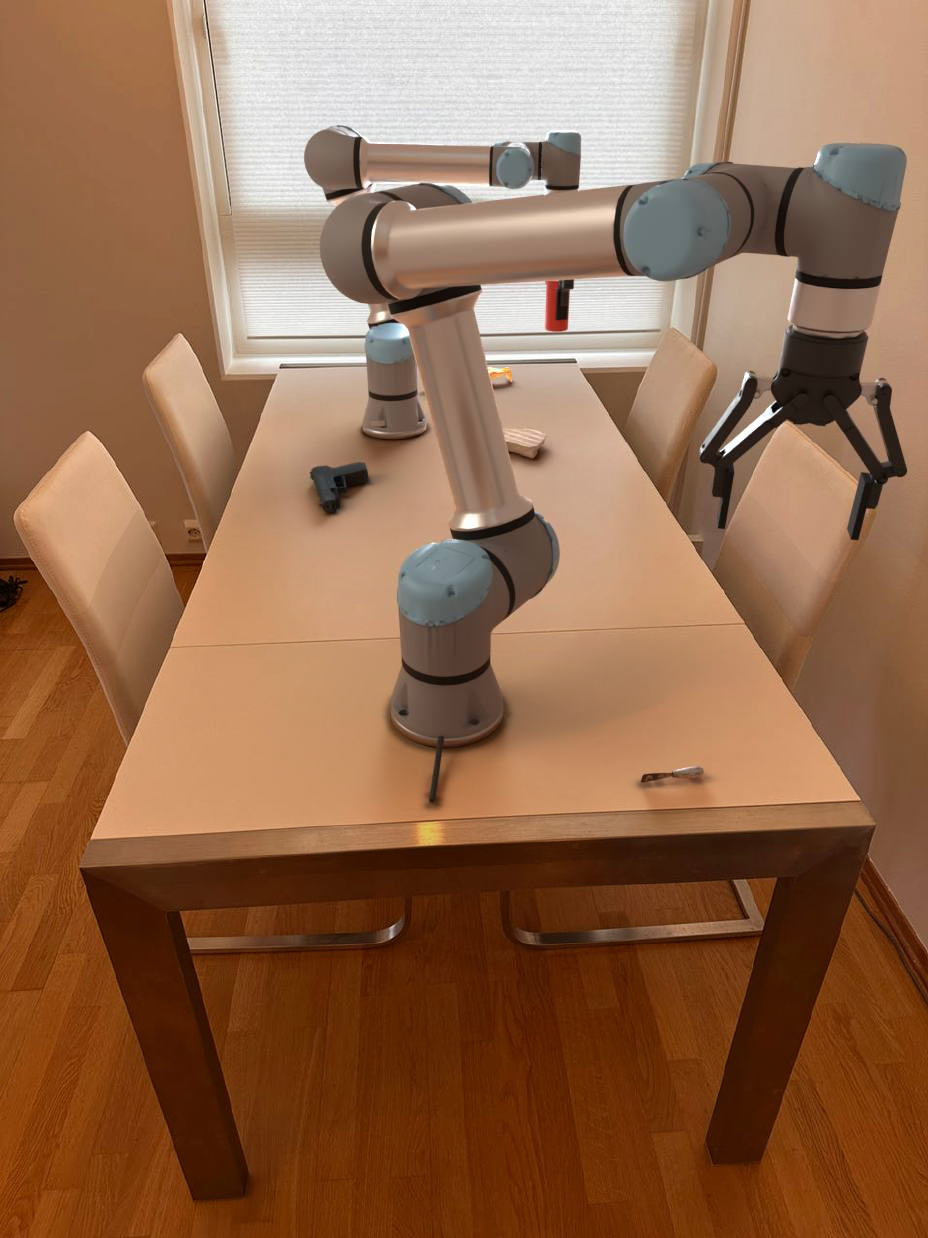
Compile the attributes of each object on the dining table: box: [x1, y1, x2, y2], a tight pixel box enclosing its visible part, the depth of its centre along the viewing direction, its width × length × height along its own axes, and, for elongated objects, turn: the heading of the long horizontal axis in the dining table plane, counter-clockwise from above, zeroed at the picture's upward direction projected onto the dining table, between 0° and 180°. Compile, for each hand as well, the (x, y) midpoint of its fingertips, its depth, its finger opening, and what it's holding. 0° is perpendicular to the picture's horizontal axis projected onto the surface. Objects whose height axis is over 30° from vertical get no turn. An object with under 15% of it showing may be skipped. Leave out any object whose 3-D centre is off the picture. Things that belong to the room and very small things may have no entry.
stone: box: [502, 427, 547, 459], centre depth 203 cm, size 13×12×3 cm
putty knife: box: [640, 765, 705, 784], centre depth 109 cm, size 1×8×2 cm, turn 103°
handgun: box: [309, 461, 369, 514], centre depth 182 cm, size 3×18×12 cm
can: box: [544, 280, 571, 333], centre depth 210 cm, size 6×6×11 cm
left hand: (556, 316), depth 211 cm, fingers closed on can, 5 cm apart
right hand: (785, 529), depth 96 cm, fingers open, 13 cm apart
